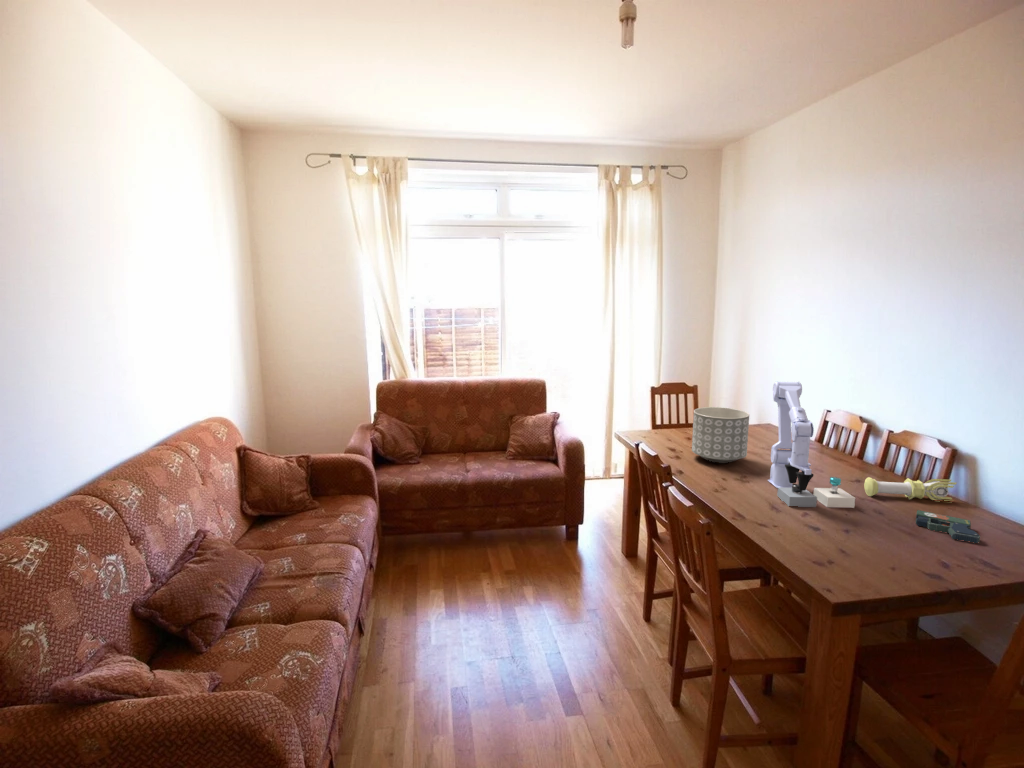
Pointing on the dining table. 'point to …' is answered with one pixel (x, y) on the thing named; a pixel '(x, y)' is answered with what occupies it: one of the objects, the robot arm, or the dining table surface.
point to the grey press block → (797, 497)
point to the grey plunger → (796, 488)
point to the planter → (720, 434)
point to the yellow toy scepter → (910, 488)
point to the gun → (947, 525)
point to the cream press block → (834, 498)
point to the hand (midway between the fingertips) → (797, 486)
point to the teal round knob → (835, 484)
